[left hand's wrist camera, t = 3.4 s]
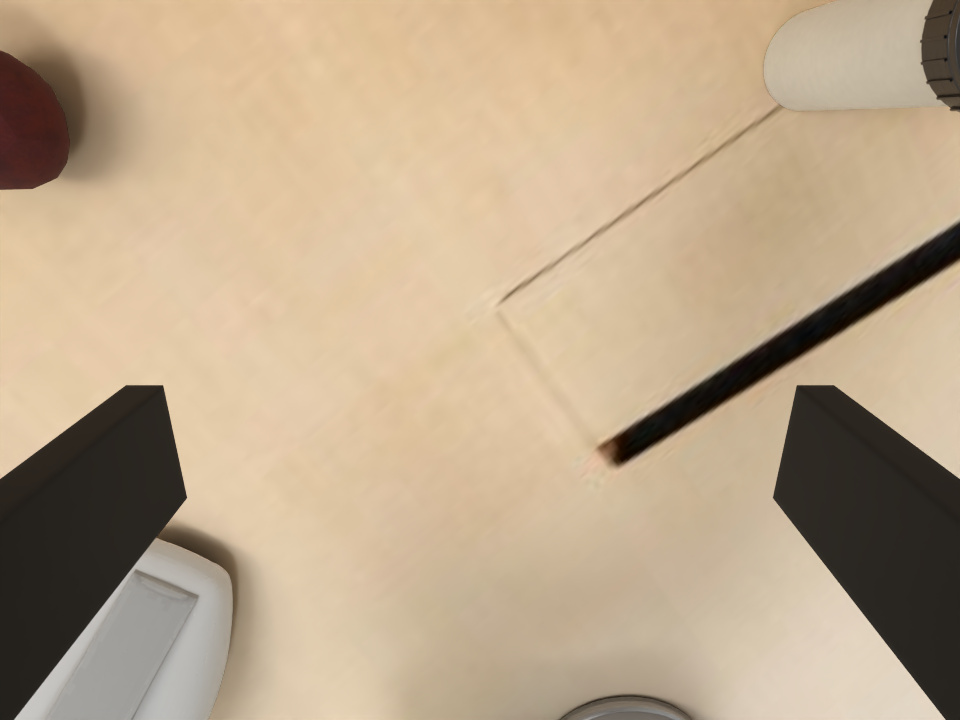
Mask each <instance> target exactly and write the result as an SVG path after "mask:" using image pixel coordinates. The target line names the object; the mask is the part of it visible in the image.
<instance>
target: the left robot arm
mask: <svg viewBox="0 0 960 720" xmlns="http://www.w3.org/2000/svg"><path fill="white" fill-rule="evenodd" d="M186 499H187V496H186V491H185V486H184V481H183V477H182V472H181V467H180V463H179V458H178V453H177V449H176V444H175V439H174V434H173V430H172V425H171V420H170V416H169V411H168V406H167V402H166V397H165V392H164V387H163V385H126V386H125V387H123V388H122V389H121V390H119V391H118V392H117V393H115V394H114V395H113V396H111V397H110V398H109V399H107V400H106V401H105V402H103V403H102V404H100V405H99V406H98V407H96V408H95V409H94V410H92V411H91V412H90V413H88V414H87V415H86V416H84V417H83V418H82V419H80V420H79V421H78V422H76V423H75V424H74V425H72V426H71V427H70V428H68V429H67V430H66V431H64V432H63V433H62V434H60V435H59V436H58V437H56V438H55V439H53V440H52V441H51V442H49V443H48V444H47V445H45V446H44V447H43V448H41V449H40V450H39V451H37V452H36V453H35V454H33V455H32V456H31V457H29V458H28V459H27V460H25V461H24V462H23V463H21V464H20V465H19V466H17V467H16V468H15V469H13V470H12V471H11V472H9V473H8V474H7V475H5V476H4V477H2V478H1V479H0V720H14V719H15V718H16V717H17V716H18V714H19V713H20V712H21V710H22V709H23V708H24V707H25V705H26V704H27V703H28V701H29V700H30V699H31V698H32V696H33V695H34V694H35V692H36V691H37V690H38V689H39V687H40V686H41V685H42V683H43V682H44V681H45V680H46V678H47V677H48V676H49V674H50V673H51V672H52V671H53V669H54V668H55V667H56V665H57V664H58V663H59V662H60V660H61V659H62V658H63V656H64V655H65V654H66V653H67V651H68V650H69V649H70V647H71V646H72V645H73V644H74V642H75V641H76V640H77V639H78V637H79V636H80V635H81V633H82V632H83V631H84V630H85V628H86V627H87V626H88V624H89V623H90V622H91V621H92V619H93V618H94V617H95V615H96V614H97V613H98V612H99V610H100V609H101V608H102V606H103V605H104V604H105V603H106V601H107V600H108V599H109V597H110V596H111V595H112V594H113V592H114V591H115V590H116V588H117V587H118V586H119V585H120V583H121V582H122V581H123V579H124V578H125V577H126V576H127V574H128V573H129V572H130V570H131V569H132V568H133V567H134V565H135V564H136V563H137V561H138V560H139V559H140V558H141V556H142V555H143V554H144V552H145V551H146V550H147V549H148V547H149V546H150V545H151V544H152V542H153V541H154V540H155V538H156V537H157V536H158V535H159V533H160V532H161V531H162V529H163V528H164V527H165V526H166V524H167V523H168V522H169V520H170V519H171V518H172V517H173V515H174V514H175V513H176V511H177V510H178V509H179V508H180V506H181V505H182V504H183V502H184V501H185V500H186ZM773 499H774V500H775V501H776V502H777V504H778V505H779V506H780V508H781V509H782V510H783V511H784V513H785V514H786V515H787V517H788V518H789V519H790V520H791V522H792V523H793V524H794V526H795V527H796V528H797V529H798V531H799V532H800V533H801V535H802V536H803V537H804V538H805V540H806V541H807V542H808V544H809V545H810V546H811V547H812V549H813V550H814V551H815V552H816V554H817V555H818V556H819V558H820V559H821V560H822V561H823V563H824V564H825V565H826V567H827V568H828V569H829V570H830V572H831V573H832V574H833V576H834V577H835V578H836V579H837V581H838V582H839V583H840V585H841V586H842V587H843V588H844V590H845V591H846V592H847V594H848V595H849V596H850V597H851V599H852V600H853V601H854V603H855V604H856V605H857V606H858V608H859V609H860V610H861V612H862V613H863V614H864V615H865V617H866V618H867V619H868V621H869V622H870V623H871V624H872V626H873V627H874V628H875V630H876V631H877V632H878V633H879V635H880V636H881V637H882V639H883V640H884V641H885V642H886V644H887V645H888V646H889V648H890V649H891V650H892V651H893V653H894V654H895V655H896V656H897V658H898V659H899V660H900V662H901V663H902V664H903V665H904V667H905V668H906V669H907V671H908V672H909V673H910V674H911V676H912V677H913V678H914V680H915V681H916V682H917V683H918V685H919V686H920V687H921V689H922V690H923V691H924V692H925V694H926V695H927V696H928V698H929V699H930V700H931V701H932V703H933V704H934V705H935V707H936V708H937V709H938V710H939V712H940V713H941V714H942V716H943V717H944V718H945V719H946V720H960V479H959V478H958V477H956V476H955V475H953V474H952V473H951V472H949V471H948V470H947V469H945V468H944V467H943V466H941V465H940V464H939V463H937V462H936V461H935V460H933V459H932V458H931V457H929V456H928V455H927V454H925V453H924V452H923V451H921V450H920V449H919V448H917V447H916V446H915V445H913V444H912V443H911V442H909V441H908V440H907V439H905V438H904V437H902V436H901V435H900V434H898V433H897V432H896V431H894V430H893V429H892V428H890V427H889V426H888V425H886V424H885V423H884V422H882V421H881V420H880V419H878V418H877V417H876V416H874V415H873V414H872V413H870V412H869V411H868V410H866V409H865V408H864V407H862V406H861V405H860V404H858V403H857V402H855V401H854V400H853V399H851V398H850V397H849V396H847V395H846V394H845V393H843V392H842V391H841V390H839V389H838V388H837V387H835V386H834V385H797V387H796V392H795V397H794V402H793V406H792V411H791V416H790V420H789V425H788V430H787V434H786V439H785V444H784V449H783V453H782V458H781V463H780V467H779V472H778V477H777V481H776V486H775V491H774V496H773ZM561 720H691V719H690V718H689V717H688V716H687V715H686V714H684V713H683V712H682V711H680V710H679V709H677V708H675V707H673V706H671V705H669V704H667V703H664V702H661V701H657V700H654V699H649V698H642V697H616V698H608V699H603V700H599V701H595V702H592V703H589V704H587V705H584V706H582V707H580V708H578V709H576V710H574V711H572V712H570V713H569V714H567V715H566V716H564V717H563V718H562V719H561Z"/></svg>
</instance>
